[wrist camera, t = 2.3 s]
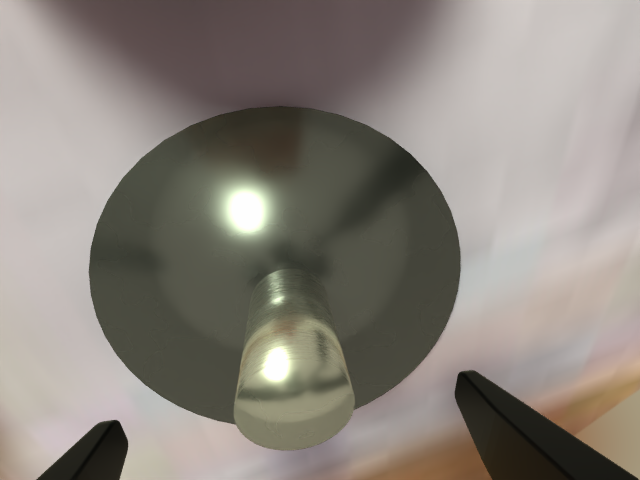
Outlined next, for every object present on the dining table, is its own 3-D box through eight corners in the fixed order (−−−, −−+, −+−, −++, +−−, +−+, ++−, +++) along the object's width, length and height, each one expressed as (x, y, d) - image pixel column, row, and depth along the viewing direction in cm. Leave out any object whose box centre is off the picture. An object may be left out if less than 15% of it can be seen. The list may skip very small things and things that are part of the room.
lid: (514, 251, 14) (659, 334, 9) (319, 445, 17) (337, 589, 12) (230, -2, 9) (159, -172, 4) (39, 337, 13) (-138, 499, 7)
